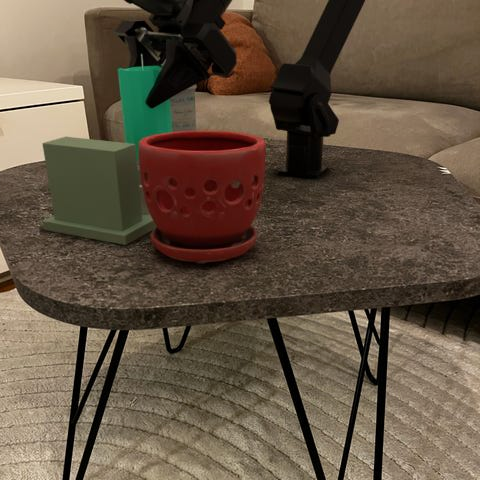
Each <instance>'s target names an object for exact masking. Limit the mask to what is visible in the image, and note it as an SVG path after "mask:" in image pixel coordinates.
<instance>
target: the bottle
mask: <svg viewBox="0 0 480 480" xmlns="http://www.w3.org/2000/svg"><path fill="white" fill-rule="evenodd" d="M165 61H166V60H165ZM165 61H164V63H165ZM164 63H163V64H161V65H162V66H163V65H164ZM197 87H198V86H197V84H195V85H193V86H191V87H190V88H188V89H186V90H184V91H182V92H180V93H179V94H177V95H175V96H173V97H172V98H170V105H171V120H172V132H181V131H197V117H196V116H197V113H196V95H195V94H196V89H197Z"/></svg>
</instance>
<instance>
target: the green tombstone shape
mask: <svg viewBox="0 0 480 480" xmlns="http://www.w3.org/2000/svg"><path fill="white" fill-rule="evenodd" d="M42 149H43V150H42V151H43V155H44V162H45V168H46V176H47V180H48V186H49V194H50V199H51V205H52V212H53V216H51V217H48V218H46V219H44V220H42V226H43V231H48V232H53V233H59V234H63V235H64V234H65V235H70V236H74V237H80V238H84V239H85V238H86V239H91V240H97V241H101V242H107V243H112V244H119V245H124V246H127V245H129V244H131V243H133V242H134V241H137V240H138V239H140V238H142V237H143V236H145V235H147V234H148V233H150V232H152V231H153V230H154V229H155V228H156V227H157V226H156V224H155V223H154V221H153V219H152V217H151V215H150V213H149V210H148V208H147V205H146V202H145V197H144V192H143V188H142V184H141V175H140V167H139V166H138V165H139V164H138V162H137V153H136V144H131V143H125V142H121V141H110V140H102V139H91V138H83V137H72V136H62V137H59V138H56V139H53V140H48V141H45V142H42Z"/></svg>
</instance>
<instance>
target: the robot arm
mask: <svg viewBox="0 0 480 480" xmlns="http://www.w3.org/2000/svg"><path fill="white" fill-rule="evenodd" d="M123 1H124V2H126V3H127V4H129V5H134V6H136V7H138V8H140V9H141V10H143V11H145V12H147V13H149V14H150V15H149V17H148V19H147V20H149V22H151V24H152V25H153V26H154V27H156V28H157V29H158V30H157V31H155V30H154V29H153V28H152V27H151V26H150V25H149V24H148V23H147V21H146V20H144V19H143V20H141V19H140V20H139V19H123V20H121V21H120V23H119V24H118V26H117V27H116V28H115V30H114V36H115V37H116V38H117V39H118V40H119V41H120V43H122V44H123V45H124V47H126V48H127V50H129V55H130V57H129V61H128V67H127V69H128V68H132V67H142V59H141V54H142V57H143V66H160V67H162V69H161V71H160V73H159V75H158V77H157V79H156V81H155V84H154V86H153V87H152V89H151V91H150V92H149V94H148V97H147V99H146V101H145V103H146V105H147V106H148V107H149V108H154V107H156V106H158V105H160V104H161V103H163V102H165V101H166V100H168V99H170V98H172V97H173V96H175V95H177V94H179V93H180V92H182V91H184V90H186V89H188V88H190V87H191V86H193V85H195V84H196V85H198V84H200V83H201V82H203V81H205V80H206V81H208V80H209V79H210V78H211V77H212V75H211V74H210V73H209V70H210V68H211V73H212V74H213V75H214V76H216V77H225V78H229V77H230V75H231V74H232V73H233V71H234V69H235V67H236V66H237V64H238V63H237V62H238V61H237V57H238V55H237V51H236V49H235V48H234V46H233V45H232V44H231V43H230V42H229V40H228V39H227V37H226V36H225V34H223V32H222V30H223V29H224V27H225V26H226V21H225V20H224V18H223V16H224V14H225V13H226V11H227V10H228V8H229V6H230V5H231V4H232V2H233V0H123ZM326 2H327V3H326V5H325V7H324V9H323V10H322V12H321V14H320V17H319V19H318V22H317V23H316V25H315V27H314V30H313V32H312V34H311V36H310V38H309V40H308V42H307V44H306V47H305V48H304V51H303V53H302V55H301V57H300V58H299V59H298V60H297V61H296V62H295V63H289V62H287V63H286V62H283V63H282V64H281V66H280V67H279V69H278V73H277V76H276V78H275V79H274V81H273V82H272V84H271V85H269V88H270V89H271V92H270V95H269V98H268V104H269V106H270V112H271V114H272V117H273V122H274V125H275V130H277V131H283V132H286V149H285V150H286V151H285V165H284V166H282V167H280V168H279V169H277V174H281V175H289V176H298V177H305V178H315V179H316V178H318V177H320V176H321V175H322V174H324V173H325V172H326V171H327V170H329V169H330V168H329V167H330V166H329V165H327V164H323V151H324V138H329V137H331V136H332V135H336V132H337V130H338V126H339V124H340V123H339V122H340V119H339V118H338V116H337V115H336V113H335V111H334V110H333V108H332V107H331V105H330V103H329V102H330V99H331V96H332V93H333V91H332V81H331V80H332V79H331V73H332V71H333V69H334V67H335V65H336V63H337V60H338V58H339V56H340V54H341V52H342V50H343V48H344V46H345V43H346V42H347V40H348V38H349V36H350V34H351V32H352V30H353V28H354V25H355V23H356V21H357V19H358V17H359V15H360V13H361V11H362V8H363V6H364V4H365V2H366V0H328V1H326ZM165 60H166V61H165ZM164 61H165V63H164ZM163 63H164V65H163V66H162V65H161V64H163Z"/></svg>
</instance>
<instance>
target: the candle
mask: <svg viewBox="0 0 480 480" xmlns="http://www.w3.org/2000/svg"><path fill="white" fill-rule="evenodd" d="M141 59H142V67H132V68H128V67H127V68H121V67H119V68H117V76H118V87H119V93H120V95H119V96H120V105H121V115H122V124H123V133H124V143H131V144H136V153H137V163H139V141H140V140H142V139H143V138H145V137H148V136H152V135H156V134H163V133H170V132H172V120H171V105H170V99H168V100H166V101H165V102H163V103H161V104H160V105H158V106H156V107H154V108H149V107H148V106H147V105H146V103H145V101H146V99H147V97H148V94H149V92H150V91H151V89H152V87H153V86H154V84H155V81H156V79H157V77H158V75H159V73H160V71H161V69H162V67H160V66H143V57H142V54H141Z"/></svg>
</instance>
